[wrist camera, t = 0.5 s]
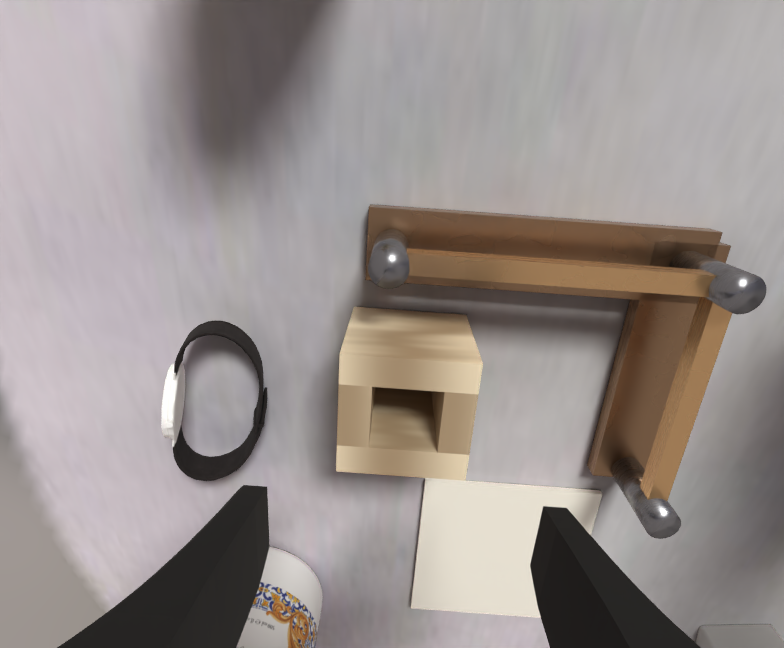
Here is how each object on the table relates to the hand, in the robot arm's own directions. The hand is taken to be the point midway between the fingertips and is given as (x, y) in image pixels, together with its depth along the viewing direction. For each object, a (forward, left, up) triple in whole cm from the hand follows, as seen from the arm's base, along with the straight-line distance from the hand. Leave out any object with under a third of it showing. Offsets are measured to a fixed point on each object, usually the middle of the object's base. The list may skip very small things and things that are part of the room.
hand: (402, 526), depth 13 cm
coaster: (-6, +11, -10) cm, 17 cm away
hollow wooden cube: (0, 0, -10) cm, 10 cm away
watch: (+9, +2, -11) cm, 14 cm away
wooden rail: (-5, -1, -10) cm, 12 cm away
